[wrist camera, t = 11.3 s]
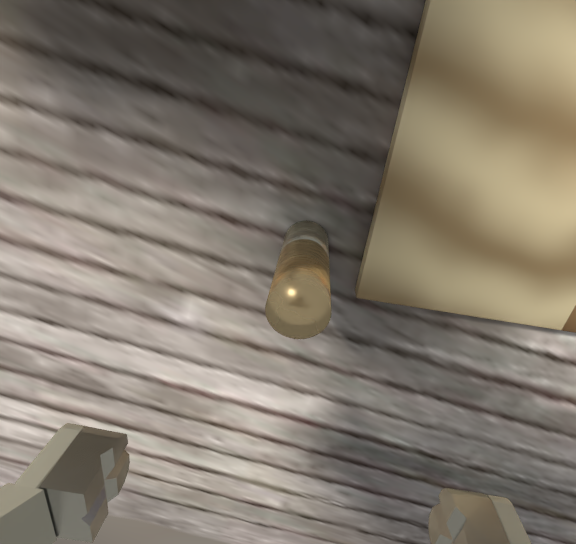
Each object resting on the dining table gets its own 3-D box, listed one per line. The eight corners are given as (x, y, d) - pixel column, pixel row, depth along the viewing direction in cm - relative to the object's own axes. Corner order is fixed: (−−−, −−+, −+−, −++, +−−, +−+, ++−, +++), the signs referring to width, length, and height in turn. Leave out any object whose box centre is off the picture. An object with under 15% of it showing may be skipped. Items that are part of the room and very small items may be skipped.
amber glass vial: (287, 217, 24) (269, 277, 16) (332, 224, 24) (337, 288, 15) (281, 258, 25) (262, 333, 17) (324, 265, 25) (324, 343, 17)
